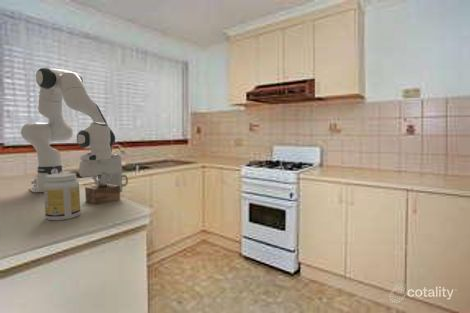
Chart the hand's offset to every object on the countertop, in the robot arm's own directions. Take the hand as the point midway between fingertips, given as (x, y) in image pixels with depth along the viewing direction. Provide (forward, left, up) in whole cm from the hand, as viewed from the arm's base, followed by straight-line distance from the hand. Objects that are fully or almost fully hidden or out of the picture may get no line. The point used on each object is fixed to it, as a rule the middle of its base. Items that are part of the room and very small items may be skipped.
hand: (102, 183), depth 142 cm
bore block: (0, 0, -8) cm, 8 cm away
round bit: (0, 0, -5) cm, 5 cm away
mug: (-14, +16, -9) cm, 23 cm away
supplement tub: (+13, -24, -9) cm, 29 cm away
